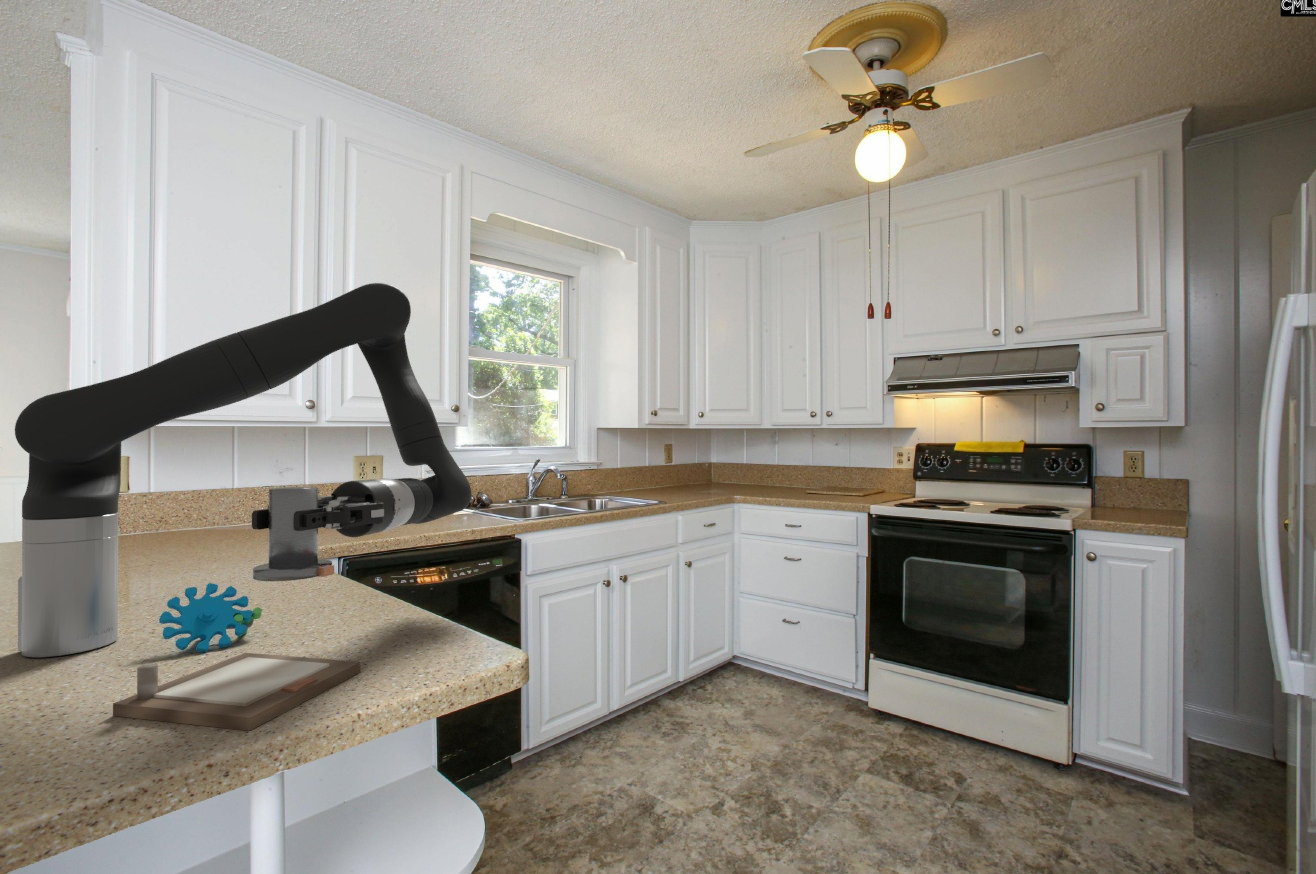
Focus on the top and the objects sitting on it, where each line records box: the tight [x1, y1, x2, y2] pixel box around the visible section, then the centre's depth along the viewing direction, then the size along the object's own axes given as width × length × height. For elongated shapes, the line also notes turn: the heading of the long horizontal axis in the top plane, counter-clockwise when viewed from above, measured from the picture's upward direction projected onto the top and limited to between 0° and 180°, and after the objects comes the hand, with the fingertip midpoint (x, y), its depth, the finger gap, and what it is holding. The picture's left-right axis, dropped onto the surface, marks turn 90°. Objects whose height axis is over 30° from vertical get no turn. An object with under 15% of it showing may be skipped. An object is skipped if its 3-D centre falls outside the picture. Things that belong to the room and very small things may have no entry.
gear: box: [158, 582, 263, 653], centre depth 84 cm, size 11×6×10 cm
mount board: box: [112, 652, 362, 732], centre depth 66 cm, size 16×15×4 cm
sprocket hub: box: [252, 486, 335, 582], centre depth 73 cm, size 9×8×10 cm
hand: (275, 520), depth 70 cm, fingers closed on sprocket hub, 5 cm apart
